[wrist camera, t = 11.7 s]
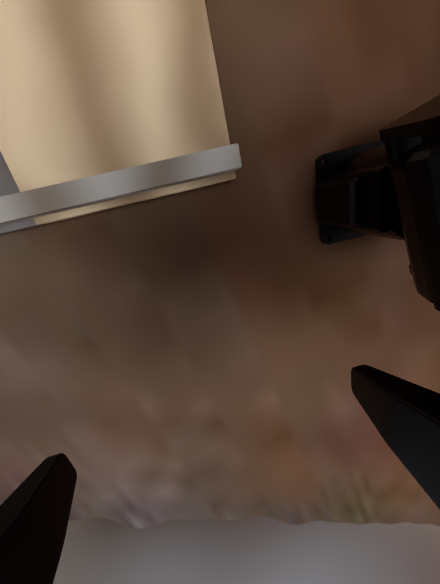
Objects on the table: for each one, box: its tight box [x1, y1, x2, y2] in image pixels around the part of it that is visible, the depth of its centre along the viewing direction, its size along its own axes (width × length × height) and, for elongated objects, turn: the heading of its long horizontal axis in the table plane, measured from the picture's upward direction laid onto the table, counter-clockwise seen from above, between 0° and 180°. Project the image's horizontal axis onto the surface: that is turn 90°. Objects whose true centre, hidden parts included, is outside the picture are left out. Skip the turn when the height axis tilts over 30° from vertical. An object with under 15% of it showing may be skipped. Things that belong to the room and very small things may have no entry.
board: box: [0, 0, 242, 235], centre depth 12 cm, size 21×14×4 cm, turn 102°
